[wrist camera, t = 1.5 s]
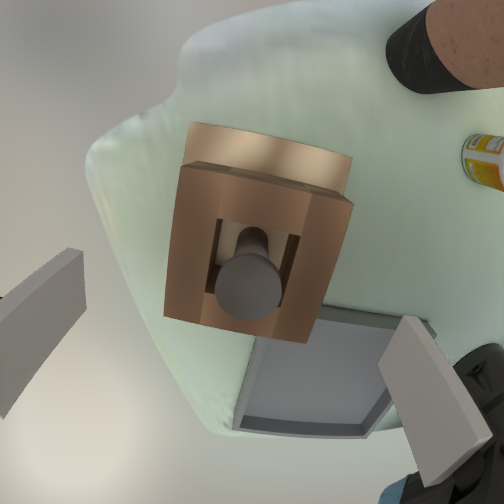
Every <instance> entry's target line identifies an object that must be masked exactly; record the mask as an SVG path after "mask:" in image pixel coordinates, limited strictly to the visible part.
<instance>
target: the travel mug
mask: <svg viewBox="0 0 504 504" xmlns="http://www.w3.org/2000/svg"><path fill="white" fill-rule="evenodd" d="M386 57H387V61H388V64H389V67H390V69H391V71H392V72H393V74H394V75H395V77H396V78H397V79H398V80H399V81H400V82H401V83H402V84H403V85H404V86H405V87H407V88H408V89H410V90H412V91H414V92H417V93H421V94H434V93H444V92H454V91H465V90H479V89H489V88H498V87H504V0H436V1H434V2H433V3H431V4H430V5H429V6H427V7H426V8H425V9H423V10H422V11H421V12H419V13H418V14H417V15H415V16H414V17H413V18H412V19H410V20H409V21H408V22H407V23H405V24H404V25H403V26H402V27H400V28H399V29H398V30H397V31H396V32H394V33H393V34H392V35H391V37H390V38H389V40H388V42H387V46H386Z"/></svg>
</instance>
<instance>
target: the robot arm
mask: <svg viewBox="0 0 504 504" xmlns="http://www.w3.org/2000/svg"><path fill="white" fill-rule="evenodd" d="M86 309H87V308H86V297H85V283H84V263H83V251H80V250H77V249H73V248H69V247H68V248H67V249H65V250H64V251H62V252H61V253H59V254H58V255H57V256H55V257H54V258H53V259H51V260H50V261H49V262H47V263H46V264H45V265H43V266H42V267H41V268H39V269H38V270H37V271H35V272H34V273H33V274H32V275H30V276H29V277H28V278H26V279H25V280H24V281H23V282H21V283H20V284H19V285H18V286H16V287H15V288H14V289H13V290H11V291H10V292H9V293H8V294H7V295H5V296H4V297H0V418H2V419H4V418H5V416H6V415H7V413H8V412H9V410H10V409H11V407H12V406H13V404H14V403H15V402H16V400H17V399H18V397H19V396H20V394H21V393H22V391H23V390H24V388H25V387H26V386H27V384H28V383H29V382H30V380H31V379H32V377H33V376H34V374H35V373H36V372H37V371H38V369H39V368H40V367H41V365H42V364H43V363H44V361H45V360H46V359H47V357H48V356H49V355H50V354H51V352H52V351H53V350H54V348H55V347H56V346H57V345H58V343H59V342H60V341H61V339H62V338H63V337H64V336H65V334H66V333H67V332H68V331H69V330H70V328H71V327H72V326H73V325H74V323H75V322H76V321H77V320H78V319H79V318H80V316H81V315H82V314H83V313H84V312H85V310H86ZM378 367H379V369H380V371H381V374H382V376H383V378H384V381H385V383H386V385H387V388H388V390H389V393H390V395H391V398H392V400H393V402H394V405H395V407H396V410H397V413H398V415H399V418H400V420H401V423H402V425H403V428H404V431H405V433H406V436H407V439H408V441H409V444H410V447H411V450H412V452H413V455H414V458H415V461H416V464H417V467H418V469H419V471H418V472H416V473H414V474H409V475H407V476H406V477H405V478H403V479H401V480H399V481H398V482H395V483H393V484H391V485H389V486H388V487H387V488H385V489H384V491H383V492H382V494H381V496H380V499H379V502H378V504H504V349H503V348H502V347H501V346H500V345H498V344H489V345H485V346H483V347H480V348H478V349H476V350H475V351H473V352H471V353H470V354H469V355H467V356H466V357H464V358H463V359H462V360H461V361H460V362H458V363H457V364H456V365H455V366H454V367H452V366H451V364H450V363H449V361H448V360H447V358H446V357H445V355H444V354H443V352H442V351H441V349H440V348H439V347H438V345H437V344H436V342H435V341H434V339H433V338H432V336H431V335H430V334H429V332H428V331H427V329H426V328H425V327H424V325H423V324H422V322H421V321H420V320H419V318H418V317H415V316H408V315H403V317H402V319H401V321H400V323H399V325H398V327H397V329H396V331H395V333H394V335H393V337H392V339H391V341H390V343H389V345H388V346H387V348H386V350H385V352H384V354H383V356H382V357H381V359H380V361H379V363H378Z"/></svg>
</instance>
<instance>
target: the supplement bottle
mask: <svg viewBox="0 0 504 504" xmlns="http://www.w3.org/2000/svg"><path fill="white" fill-rule="evenodd" d="M462 160H463V166H464V169H465V172H466V173H467V175H468V176H469V178H470V179H471V180H473V181H474V182H477V183H479V184H482V185H485V186H489V187H491V188H494V189H497V190H500V191H503V192H504V137H501V136H492V135H480V134H477V135H473V136H471V137H470V138H469V139H468V140H467V141H466V143H465V145H464V148H463V153H462Z"/></svg>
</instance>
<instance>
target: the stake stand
mask: <svg viewBox="0 0 504 504" xmlns="http://www.w3.org/2000/svg"><path fill="white" fill-rule="evenodd" d="M194 161H203V162H209V163H214V164H220V165H225V166H230V167H235V168H240V169H245V170H250V171H255V172H260V173H264V174H269V175H273V176H278V177H282V178H286V179H291V180H295V181H299V182H303V183H307V184H311V185H315V186H319V187H323V188H327V189H331V190H334V191H337V192H338V193H340V194H341V195H342V196H343V192H344V189H345V185H346V181H347V177H348V173H349V170H350V166H351V162H352V158H351V157H348V156H345V155H341V154H338V153H335V152H331V151H327V150H324V149H320V148H316V147H313V146H309V145H305V144H301V143H297V142H293V141H289V140H284V139H280V138H276V137H271V136H267V135H262V134H257V133H252V132H247V131H242V130H237V129H231V128H226V127H220V126H214V125H208V124H202V123H195V122H190V126H189V131H188V137H187V142H186V147H185V153H184V158H183V164H182V166H183V165H186V164H189V163H192V162H194ZM288 235H289V233H285V232H280V231H276V230H271V229H267V228H262V227H257V226H252V225H248V224H243V223H238V222H233V221H228V220H224V219H223V221H222V226H221V232H220V237H219V243H218V248H217V254H216V259H215V264H216V265H221V266H222V267H221V269H220V271H219V274H218V277H217V281H216V284H215V297H216V300H217V302H218V304H219V305H220V307H221V308H222V309H223V310H224V311H225V312H226V313H227V314H229V315H230V316H232V317H234V318H237V319H241V320H257V319H261V318H263V317H266V316H267V315H269V314H270V313H272V312H273V311H274V310H275V309H276V307H277V306H278V304H279V302H280V300H281V296H282V288H281V279H280V274H279V269H280V266H281V262H282V258H283V254H284V251H285V247H286V243H287V239H288Z"/></svg>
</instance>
